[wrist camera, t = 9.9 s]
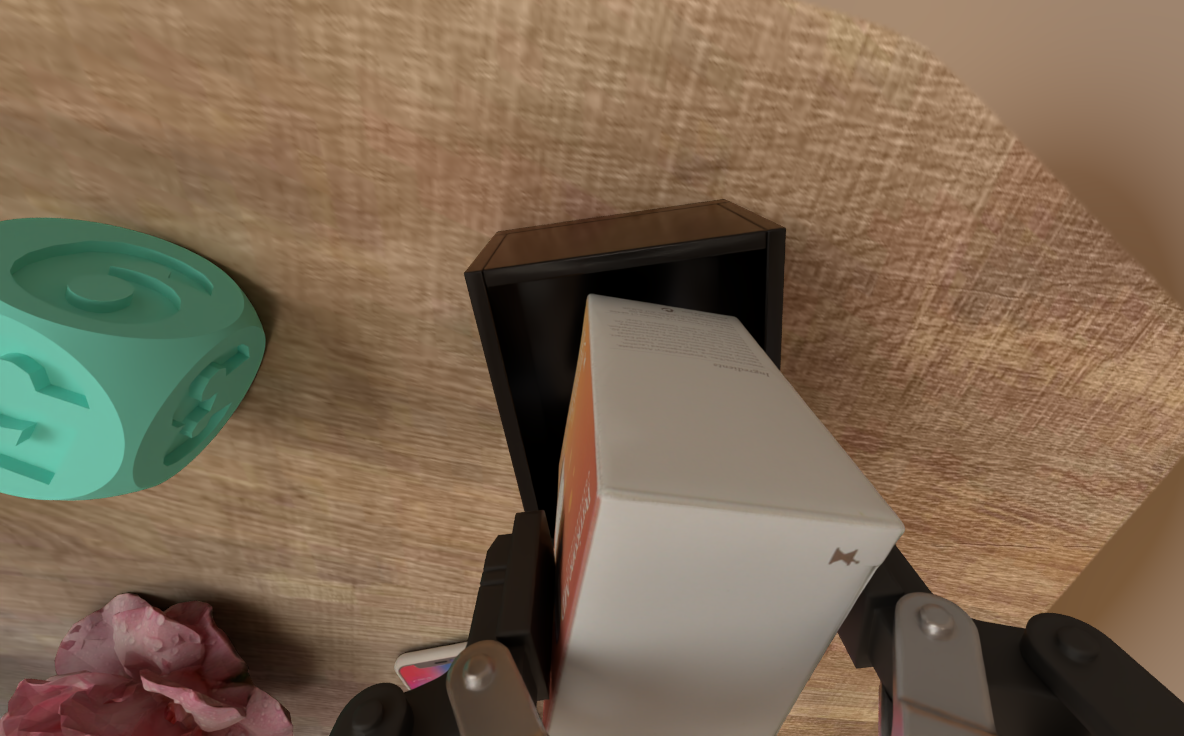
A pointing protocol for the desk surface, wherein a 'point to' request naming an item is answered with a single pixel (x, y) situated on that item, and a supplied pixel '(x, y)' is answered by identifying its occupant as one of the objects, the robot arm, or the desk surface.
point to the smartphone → (426, 664)
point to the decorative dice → (113, 358)
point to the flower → (145, 680)
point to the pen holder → (616, 269)
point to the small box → (697, 532)
